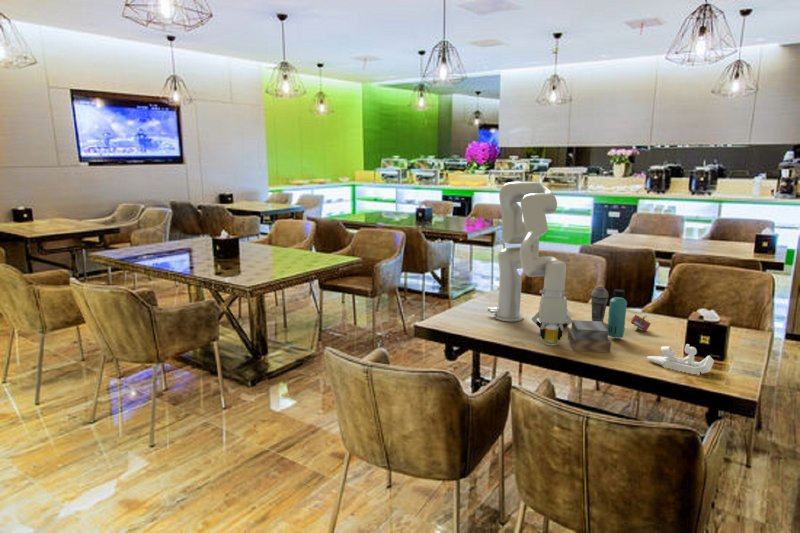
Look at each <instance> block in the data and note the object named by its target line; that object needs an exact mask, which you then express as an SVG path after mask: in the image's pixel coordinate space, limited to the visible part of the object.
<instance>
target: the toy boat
mask: <svg viewBox="0 0 800 533" xmlns="http://www.w3.org/2000/svg"><path fill="white" fill-rule="evenodd" d="M660 351H661V353H662V356H661V355H648V356H646V359H647V360H649V361H651V362H652V363H655V364H657V365H660V366H662V368H663V367H664V368H663V369H667V368H670V369H669V370H672V369H674V370H673V371H676V370H678V371H677V372H680V371H682V372H681V373H684V372H686V373H685V374H688V373H691V374H690V375H692V374H697V375H696V376H700V374H706V373H709V372H711V370H712V368H713V365H714V363H715V360H714V358H712V356H711V355H707V356H706V357H705V358H704V359H702V360H701V361H699V362H698V361H695V355H697V353H698V351H697V348H696V347H694V346H690V344H689V343H686V344H685V348H684V352H685V354H687V356H685V357H681V358H680V357H677V356H676V352H675V351H674V349H673V347H672V346H670V345H669V346H667V345H666V346H664V345H663V346H661V347H660ZM665 367H666V368H665ZM700 372H701V373H700Z"/></svg>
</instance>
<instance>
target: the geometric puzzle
mask: <svg viewBox="0 0 800 533" xmlns="http://www.w3.org/2000/svg"><path fill="white" fill-rule="evenodd" d="M647 317H648V316H647V315H644V316H642V317H641V316H640V315H639V314H635V315H634V316H632V317H631V322H630V324H631V325H633V329H634V332H638V331H639V330H641V332H643V333H644V332H646V333H647V331H648V330H649V328H650V325H651V324H652V323H651V322H649V319H646V318H647ZM635 327H636V328H635Z"/></svg>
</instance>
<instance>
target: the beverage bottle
mask: <svg viewBox="0 0 800 533" xmlns="http://www.w3.org/2000/svg"><path fill="white" fill-rule="evenodd" d="M625 295H626V291H625V290H624V289H614V290H613V296H614V297H612V298H610V300H609V306H608V316H607V318H608V319H607V325H606V328H607V330H608V337H610V338H615V339H617V338H619V339H621V338H623V337H624V335H625V325H626V314H627V313H626V312H627V305H628V301H627V300H626V299H625V298H623V297H625Z"/></svg>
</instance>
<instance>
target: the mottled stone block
mask: <svg viewBox="0 0 800 533" xmlns="http://www.w3.org/2000/svg"><path fill="white" fill-rule="evenodd" d="M571 320H572V323H571V327H570V328H568V329H567V341H568V343H569V344H570V346H571V348H572V350H573V351H575V352H593V353H608V352H610V353H611V346H612V342H611V340H610V339H609V336H608V330H607V326H605V324H604V322H603V323H602V322H601V321H592V320H579V319H578V320H576V319H571Z"/></svg>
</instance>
